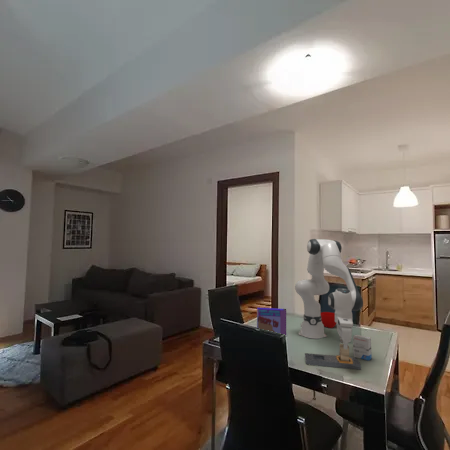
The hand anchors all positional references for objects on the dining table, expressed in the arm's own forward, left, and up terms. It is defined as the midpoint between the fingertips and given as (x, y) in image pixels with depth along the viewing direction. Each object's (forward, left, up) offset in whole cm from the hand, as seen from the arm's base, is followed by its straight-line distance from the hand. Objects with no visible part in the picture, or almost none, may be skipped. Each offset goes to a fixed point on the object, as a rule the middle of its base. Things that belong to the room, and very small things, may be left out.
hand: (343, 345), depth 157 cm
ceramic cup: (-77, +5, -10) cm, 78 cm away
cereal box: (-15, -39, -10) cm, 43 cm away
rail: (0, -6, -10) cm, 12 cm away
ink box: (-13, +12, -10) cm, 20 cm away
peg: (0, 0, -10) cm, 10 cm away
